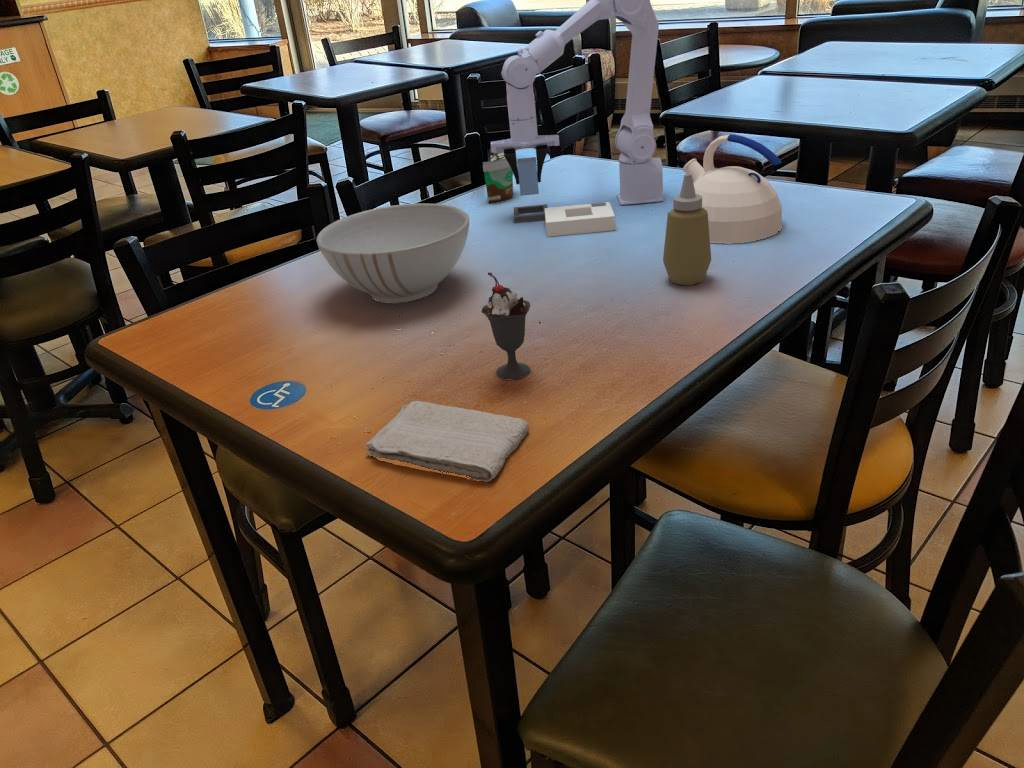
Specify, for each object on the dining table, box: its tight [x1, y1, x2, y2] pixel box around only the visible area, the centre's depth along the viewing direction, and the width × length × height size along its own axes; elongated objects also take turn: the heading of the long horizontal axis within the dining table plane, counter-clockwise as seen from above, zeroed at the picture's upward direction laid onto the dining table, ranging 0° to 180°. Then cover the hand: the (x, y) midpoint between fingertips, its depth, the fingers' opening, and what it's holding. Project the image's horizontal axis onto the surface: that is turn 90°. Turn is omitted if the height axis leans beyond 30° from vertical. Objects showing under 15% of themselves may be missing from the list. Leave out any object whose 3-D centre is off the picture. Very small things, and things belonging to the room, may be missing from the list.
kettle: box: [682, 133, 783, 244], centre depth 151 cm, size 20×21×18 cm
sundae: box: [481, 272, 532, 380], centre depth 108 cm, size 7×7×15 cm
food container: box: [482, 151, 514, 204], centre depth 187 cm, size 12×6×10 cm, turn 168°
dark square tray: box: [513, 203, 549, 224], centre depth 174 cm, size 8×8×1 cm
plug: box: [516, 156, 540, 197], centre depth 170 cm, size 4×4×7 cm
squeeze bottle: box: [662, 173, 712, 286], centre depth 130 cm, size 8×8×18 cm
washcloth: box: [365, 400, 530, 483], centre depth 96 cm, size 12×18×3 cm, turn 66°
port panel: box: [544, 201, 616, 237], centre depth 164 cm, size 14×10×3 cm
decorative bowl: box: [316, 203, 470, 304], centre depth 140 cm, size 27×27×12 cm
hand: (528, 182), depth 170 cm, fingers closed on plug, 4 cm apart
